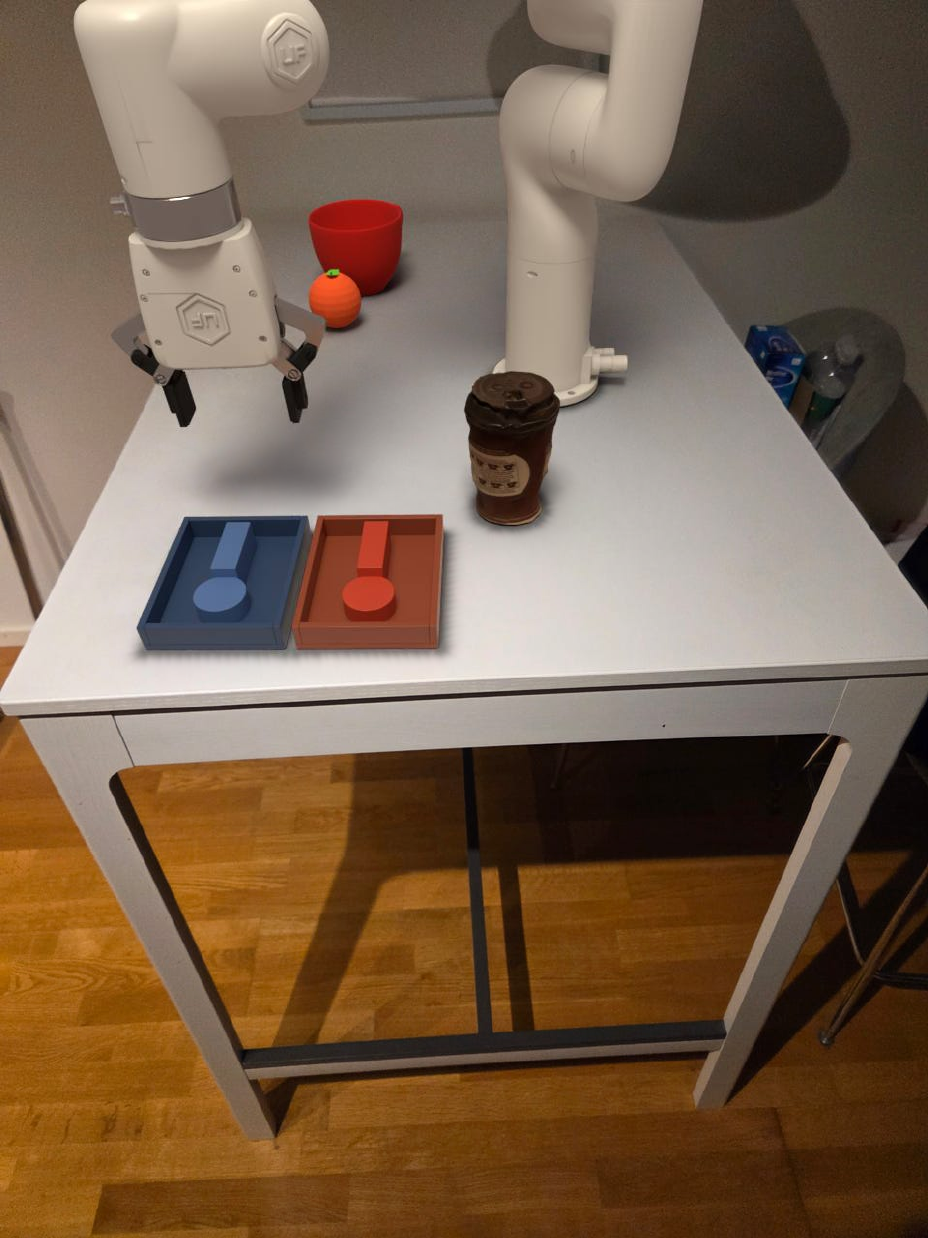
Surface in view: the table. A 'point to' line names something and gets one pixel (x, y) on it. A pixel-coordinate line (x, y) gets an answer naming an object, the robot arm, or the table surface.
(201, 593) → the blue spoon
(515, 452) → the coffee cup
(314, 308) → the clementine
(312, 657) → the table surface
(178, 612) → the blue tray
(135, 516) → the table surface
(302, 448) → the table surface
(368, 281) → the ceramic cup
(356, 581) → the red spoon
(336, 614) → the red tray
